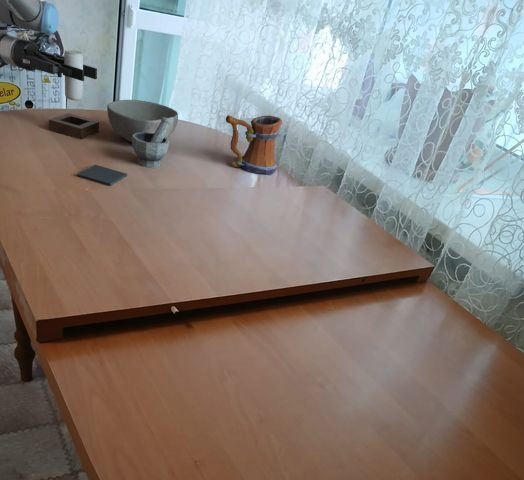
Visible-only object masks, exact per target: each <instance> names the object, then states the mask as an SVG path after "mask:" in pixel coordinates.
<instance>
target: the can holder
mask: <svg viewBox="0 0 524 480" xmlns="http://www.w3.org/2000/svg"><path fill="white" fill-rule="evenodd" d="M48 131H50V132H53V133H58V134H61V135H65V136H67V137H72V138H75V139H78V140H83V139H86V138H89V137H90V136H94V135H96V134H97V133H100V121H98V120H94V119H91V118H87V117H84V116H81V115H76V114H73V113H68V112H67V113H64V114H62V115H58V116H55V117H52V118H50V119H48Z"/></svg>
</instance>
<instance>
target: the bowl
mask: <svg viewBox="0 0 524 480" xmlns="http://www.w3.org/2000/svg"><path fill="white" fill-rule="evenodd" d="M106 110H107V118H108V121H109V124H110V126H111V127H112V129H113V131H114V132H115V133H116V134H118V135H119V136H120V137H122V138H123V139H124V140H126V141H127V142H131V143H132V136H133V135H134V134H135V133H140V132H147V133H155V132H156V130H157V128H158V126H159V124H160V122H161V118H162V117H165V118H167V119H169V120H170V121H171V124H170V125H169V126H168V129H167V131H166V134H165V137H166V138H167V139H169V137H170V136H171V135H172V134H173V133H174V132H175V129H176V128H177V125H178V122H179V121H178V120H179V113H178V111H177V110H175V109H173V108H171V107H169V106H166V105H164V104H160V103H156V102H152V101H148V100H147V101H146V100H139V99H120V100H114V101H112V102H109V103H108V104H107V105H106Z"/></svg>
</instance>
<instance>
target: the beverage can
mask: <svg viewBox="0 0 524 480" xmlns="http://www.w3.org/2000/svg"><path fill="white" fill-rule="evenodd" d="M63 56H64V64H66V65H69V66H72V67H76V68H79V69H82V70H83V64H84V56H83V52H81V51H79V50H75V49H65V50H64V53H63ZM64 96H65V98H66V99H67V100H71V101H75V102H78V101H82V100H83V99H84V81H80V80H77V79H74V78H71V77H68V76H64Z"/></svg>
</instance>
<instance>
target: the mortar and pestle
mask: <svg viewBox="0 0 524 480" xmlns="http://www.w3.org/2000/svg"><path fill="white" fill-rule="evenodd" d="M170 124H171V121H170V120H169V119H167V118H165V117H162V118H161V122H160V124H159V126H158V128H157V130H156V132H155V133H147V132H140V133H135V134H134V135H133V136H132V142H131V143H132V144H131V145H132V149H133V151H134V153H135V154H136V155H137V163H138V164H139V166H143V167H145V168H154V169H155V168H160V166H161V164H162V161H161V160H162V159H163V158H164V157H165V156H166V154H167V152H168V151H169V146H170V139H169V138H166V137H165V134H166V131H167V129H168V126H169V125H170Z"/></svg>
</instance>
